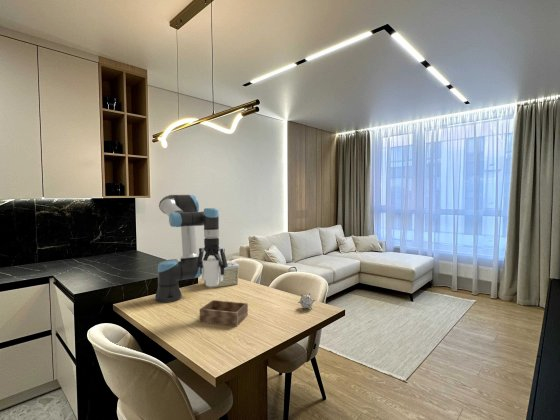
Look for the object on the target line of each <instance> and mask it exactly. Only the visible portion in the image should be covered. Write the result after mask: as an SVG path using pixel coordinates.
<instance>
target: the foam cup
mask: <svg viewBox="0 0 560 420" xmlns="http://www.w3.org/2000/svg"><path fill="white" fill-rule="evenodd" d="M202 261H203V268H204V274H205V281H206V285H207V286H216V285H218V283H219V269H220V266H219V260H216V258H215V257H211V258H209V257H208V259H207V261H204V260H203V259H202ZM206 285H205V286H206ZM207 286H206V287H207Z"/></svg>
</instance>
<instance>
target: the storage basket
mask: <svg viewBox="0 0 560 420" xmlns="http://www.w3.org/2000/svg"><path fill="white" fill-rule="evenodd" d="M226 261H227V265H228V267H226V268H224V275H223V281H221V282H219V283H218V285H216V286H207V285H206V281H205V280H204V281H203V283H204V285H205V287H206V288H207V289H213V288H220V287H227V286H232V285H233V286H234V285H237V284H239V271H240V270H239V269H240V264H239V263H238V262H235V261H234V260H226Z"/></svg>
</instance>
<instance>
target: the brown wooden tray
mask: <svg viewBox="0 0 560 420" xmlns="http://www.w3.org/2000/svg"><path fill="white" fill-rule="evenodd" d="M248 305H249V304H248V302H236V301H229V300H228V301H226V300H215V299H212V300H211V301H209V302H208V303H207V304H205V305H204V306H202V307H201V308H200V309H199V323H203V324H205V323H206V324H212V325H221V326H222V325H223V326H231V327H238V326H240V324H241V323H242V322H243V321H244V320H245V319H246V318H247V317H248V315H249V313H248V312H249V311H248V310H249V309H248V308H249V307H248Z"/></svg>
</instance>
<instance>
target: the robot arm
mask: <svg viewBox="0 0 560 420" xmlns="http://www.w3.org/2000/svg"><path fill="white" fill-rule="evenodd" d="M158 207H159V210H160V212H162V213H163V214H165V215H166V216H168V223H169V226H170V227H171V228H172V227H173V228H179V227H180V230H181V232H180V234H181V249H182V251H181V252H182V256H181V257H180V261H179V260H178V259H176V258H174V259H172V258H171V259H167V260H164V261H160V262H159V263H158V265H157V289H156V293H155V296H154V300H155V301H156V302H158V303H173V302H175V301H178V300H179V301H180V299H182V292H181V290H180V286H179V281H183V280H184V281H185V280H191V279H196V278H200V277H201V281H202V282H204V280H205V274H204V268H203V260H204V261H207V259H208V258H209V257H210V256H212V257H213V258H216V260H219V266H220V269H219V282H221V281H223V275H224V268H226V267H228V265H227V261H228V260H227V256H226V251H225V250H226V249H225V248H224V247H223V248H221V247H220V238H219V236H220V230H219V229H220V227H219V225H220V223H219V221H220V220H219V219H220V216H219V215H220V214H219V209H218V208H217V207H210V208H209V207H206V208H204V209H203V211H199V210H200V204H199V200H198V198H197V196H196V195H194V194H169V195H166V196H164V197H163V198H161V199H160V201H159V203H158ZM199 226H203V237H204V239H203V242H204V243H203V244H204V247H200V248H198V252H199V253H198V254H197V241H196V240H197V238H196V227H199ZM204 252H205V253H204Z"/></svg>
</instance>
